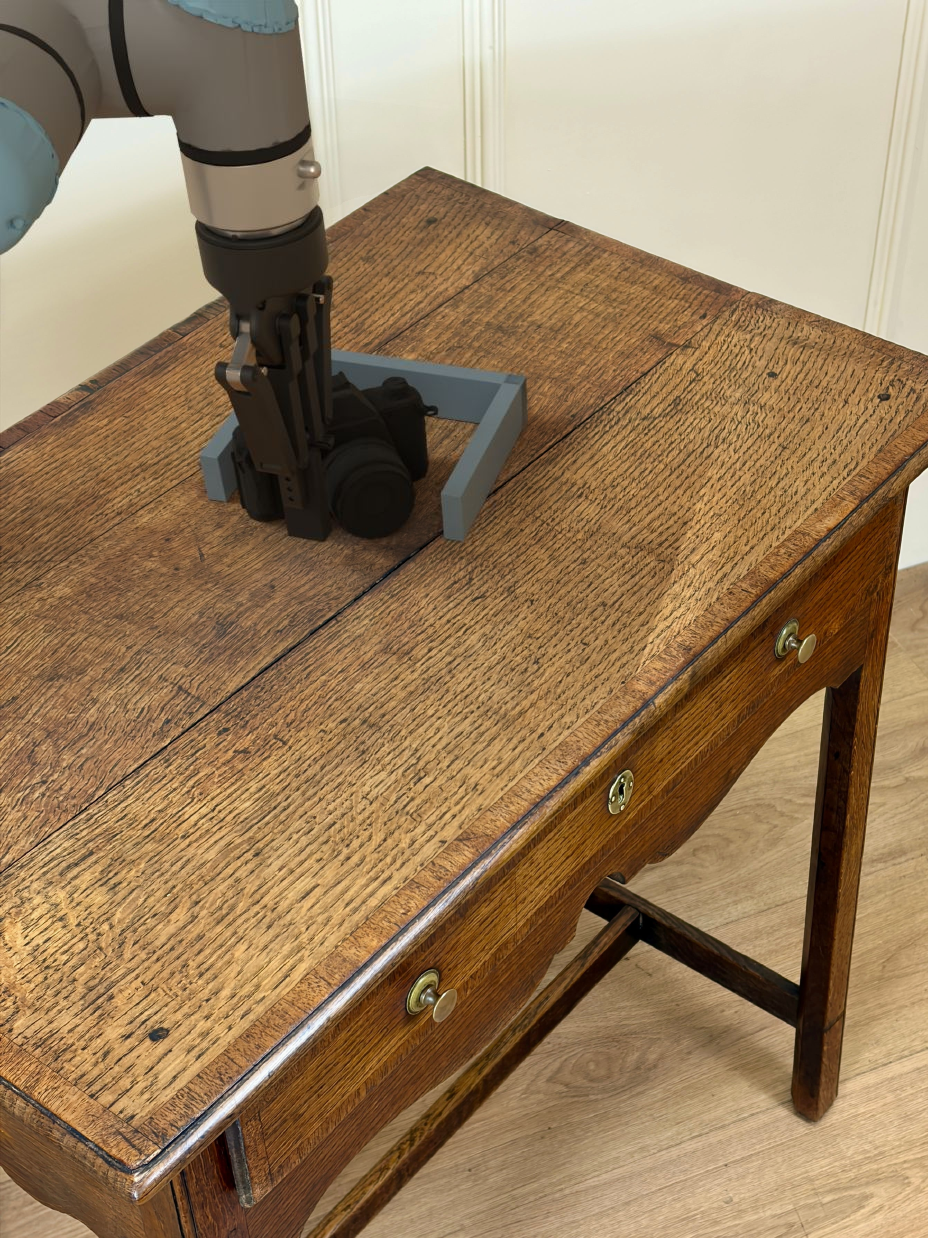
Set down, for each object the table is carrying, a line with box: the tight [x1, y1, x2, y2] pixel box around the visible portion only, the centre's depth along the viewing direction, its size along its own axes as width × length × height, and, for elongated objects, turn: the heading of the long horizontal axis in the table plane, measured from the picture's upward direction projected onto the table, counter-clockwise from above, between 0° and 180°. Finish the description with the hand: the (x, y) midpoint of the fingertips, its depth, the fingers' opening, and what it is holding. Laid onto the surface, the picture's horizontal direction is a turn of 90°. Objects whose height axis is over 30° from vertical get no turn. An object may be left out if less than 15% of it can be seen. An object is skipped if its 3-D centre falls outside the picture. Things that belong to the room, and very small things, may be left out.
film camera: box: [231, 371, 439, 540], centre depth 104 cm, size 15×10×9 cm, turn 114°
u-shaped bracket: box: [198, 348, 528, 543], centre depth 110 cm, size 20×16×4 cm
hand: (310, 533), depth 102 cm, fingers closed
